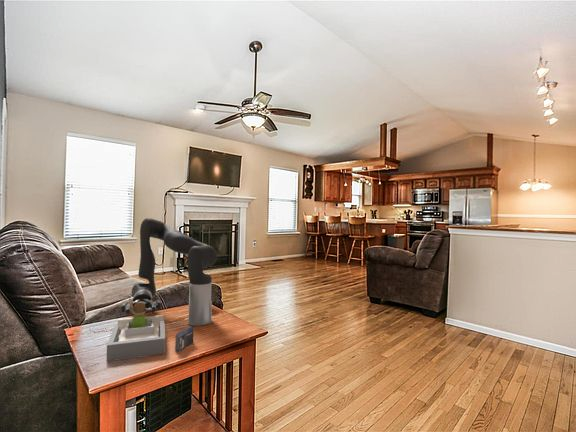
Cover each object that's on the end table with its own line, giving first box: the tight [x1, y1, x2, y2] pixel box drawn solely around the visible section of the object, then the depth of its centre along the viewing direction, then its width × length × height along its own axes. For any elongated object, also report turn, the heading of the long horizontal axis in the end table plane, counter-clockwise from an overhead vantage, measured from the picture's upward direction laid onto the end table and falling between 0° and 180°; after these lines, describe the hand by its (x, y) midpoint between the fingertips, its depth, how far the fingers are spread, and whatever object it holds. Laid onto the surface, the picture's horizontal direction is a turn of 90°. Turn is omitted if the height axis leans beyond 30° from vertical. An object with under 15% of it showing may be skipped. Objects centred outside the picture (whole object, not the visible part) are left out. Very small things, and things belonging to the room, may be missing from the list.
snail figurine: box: [128, 298, 147, 328], centre depth 119 cm, size 5×6×12 cm
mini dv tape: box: [174, 325, 195, 353], centre depth 108 cm, size 8×2×6 cm, turn 163°
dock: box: [106, 320, 166, 362], centre depth 108 cm, size 17×18×5 cm
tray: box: [117, 314, 164, 342], centre depth 118 cm, size 17×17×4 cm
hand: (140, 310), depth 118 cm, fingers open, 8 cm apart
